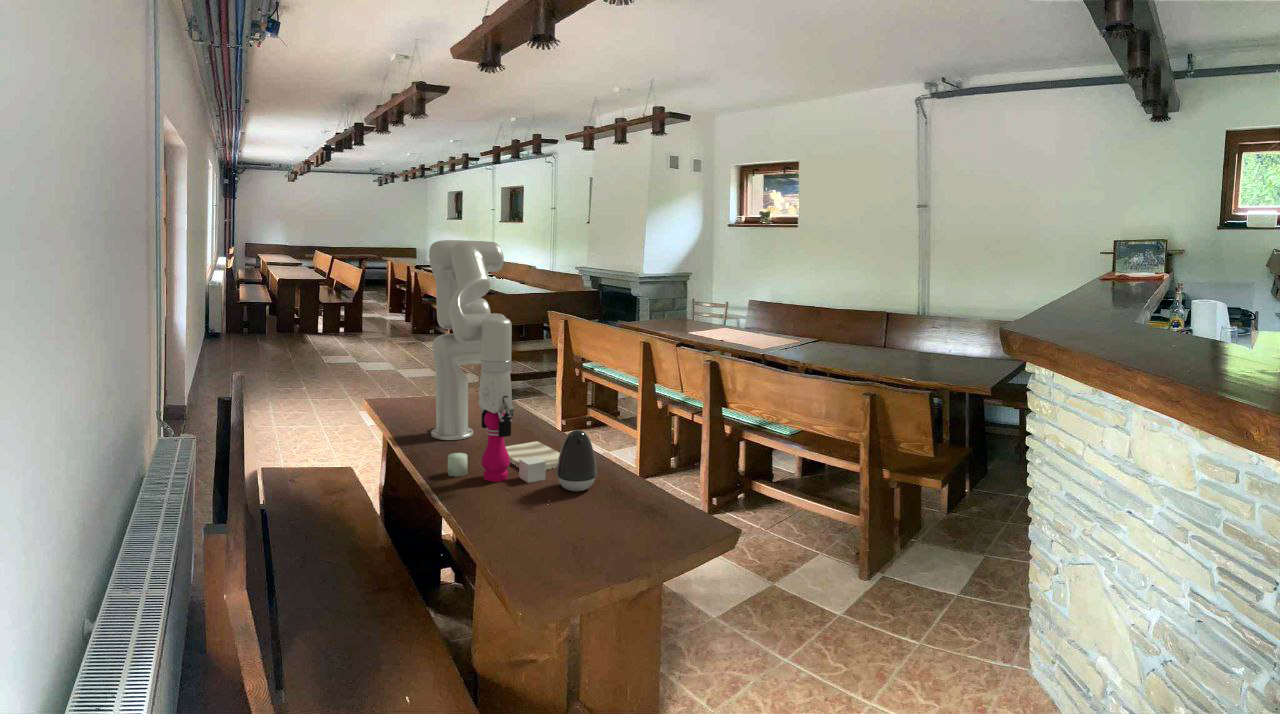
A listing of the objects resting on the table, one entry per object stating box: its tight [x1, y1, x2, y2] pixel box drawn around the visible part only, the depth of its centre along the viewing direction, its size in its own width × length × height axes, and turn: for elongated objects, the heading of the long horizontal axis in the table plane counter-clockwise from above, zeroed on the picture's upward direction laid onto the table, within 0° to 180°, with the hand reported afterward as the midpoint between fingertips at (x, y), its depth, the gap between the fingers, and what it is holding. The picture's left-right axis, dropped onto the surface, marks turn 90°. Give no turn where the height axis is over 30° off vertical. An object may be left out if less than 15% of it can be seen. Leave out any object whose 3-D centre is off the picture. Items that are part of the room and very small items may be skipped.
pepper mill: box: [481, 409, 511, 483], centre depth 191 cm, size 7×7×20 cm
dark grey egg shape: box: [555, 429, 598, 492], centre depth 186 cm, size 10×10×15 cm
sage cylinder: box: [447, 452, 468, 478], centre depth 194 cm, size 5×5×5 cm
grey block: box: [518, 456, 547, 484], centre depth 193 cm, size 5×5×5 cm
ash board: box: [505, 440, 560, 471], centre depth 209 cm, size 20×14×2 cm
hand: (496, 431), depth 190 cm, fingers open, 9 cm apart
